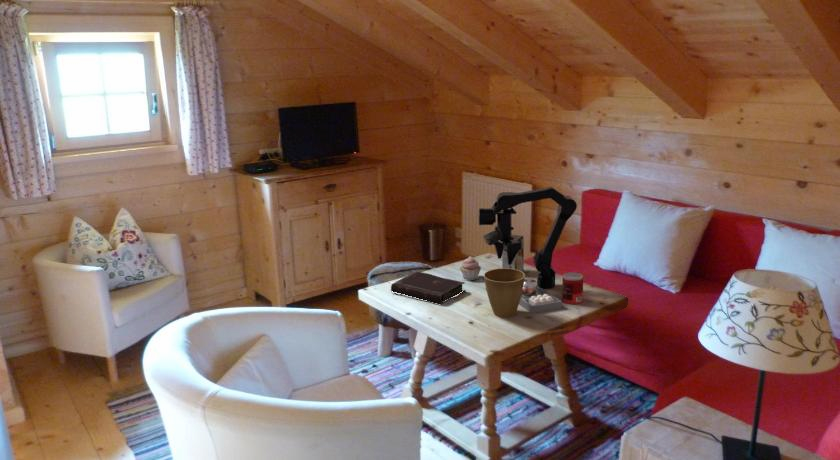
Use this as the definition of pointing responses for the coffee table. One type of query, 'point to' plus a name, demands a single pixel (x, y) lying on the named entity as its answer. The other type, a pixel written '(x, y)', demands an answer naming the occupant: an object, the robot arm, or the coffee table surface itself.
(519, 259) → the coffee box
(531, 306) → the tote
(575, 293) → the canned food
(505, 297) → the plant pot
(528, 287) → the steel tin
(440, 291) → the diary
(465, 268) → the cupcake
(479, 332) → the coffee table surface
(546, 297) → the egg carton
